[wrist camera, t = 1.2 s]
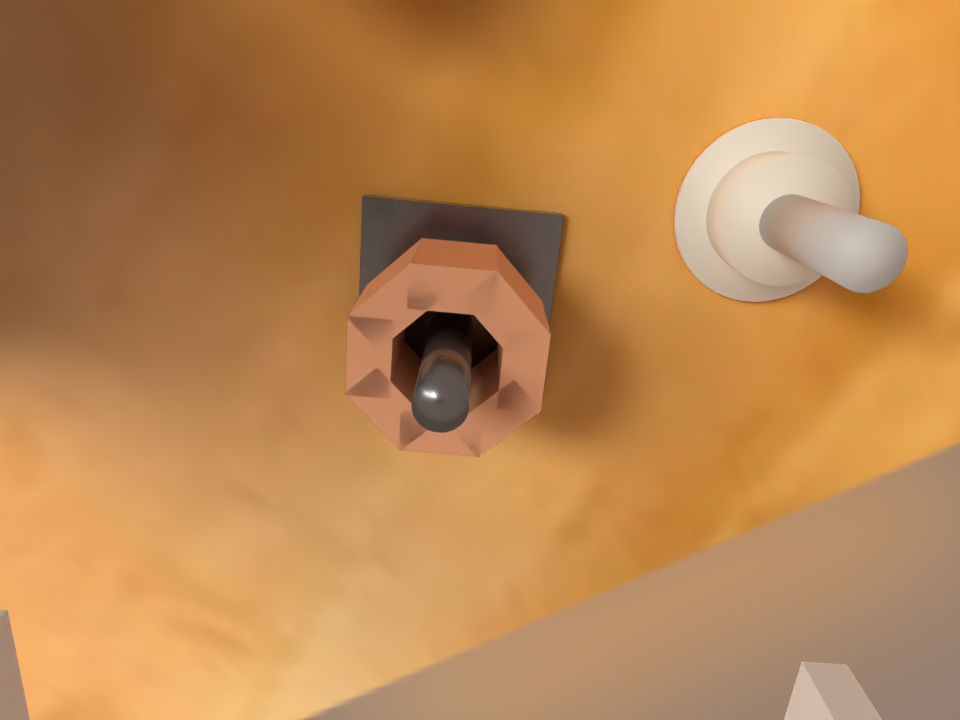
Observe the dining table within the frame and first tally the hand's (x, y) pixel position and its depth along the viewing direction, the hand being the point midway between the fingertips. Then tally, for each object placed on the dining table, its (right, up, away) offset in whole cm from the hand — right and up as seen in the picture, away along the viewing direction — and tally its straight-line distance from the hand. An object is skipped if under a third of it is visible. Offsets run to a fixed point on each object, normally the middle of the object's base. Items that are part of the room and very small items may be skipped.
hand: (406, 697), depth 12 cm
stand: (0, +9, +25) cm, 27 cm away
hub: (+15, +13, +23) cm, 31 cm away
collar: (0, +7, +21) cm, 22 cm away
